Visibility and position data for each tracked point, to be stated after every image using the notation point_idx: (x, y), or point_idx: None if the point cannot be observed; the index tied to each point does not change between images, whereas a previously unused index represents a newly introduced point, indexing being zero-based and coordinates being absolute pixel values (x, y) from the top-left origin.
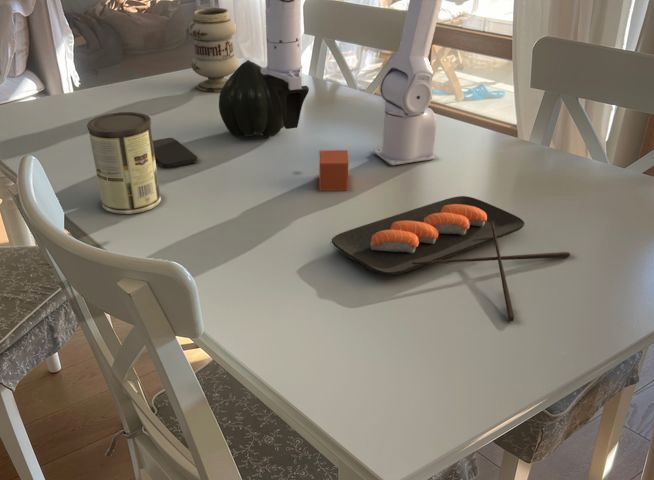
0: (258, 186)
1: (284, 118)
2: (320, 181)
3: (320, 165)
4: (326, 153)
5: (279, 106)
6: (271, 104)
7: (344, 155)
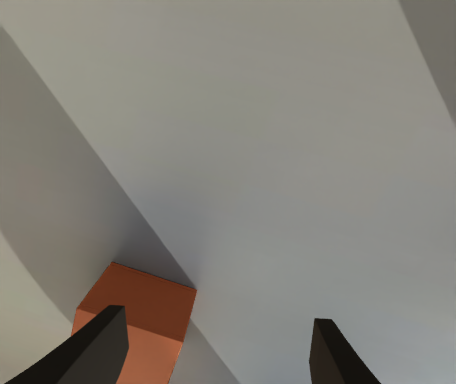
0: (179, 126)
1: (73, 335)
2: (101, 277)
3: (79, 305)
4: (151, 348)
5: (321, 374)
6: (353, 352)
7: (123, 379)
